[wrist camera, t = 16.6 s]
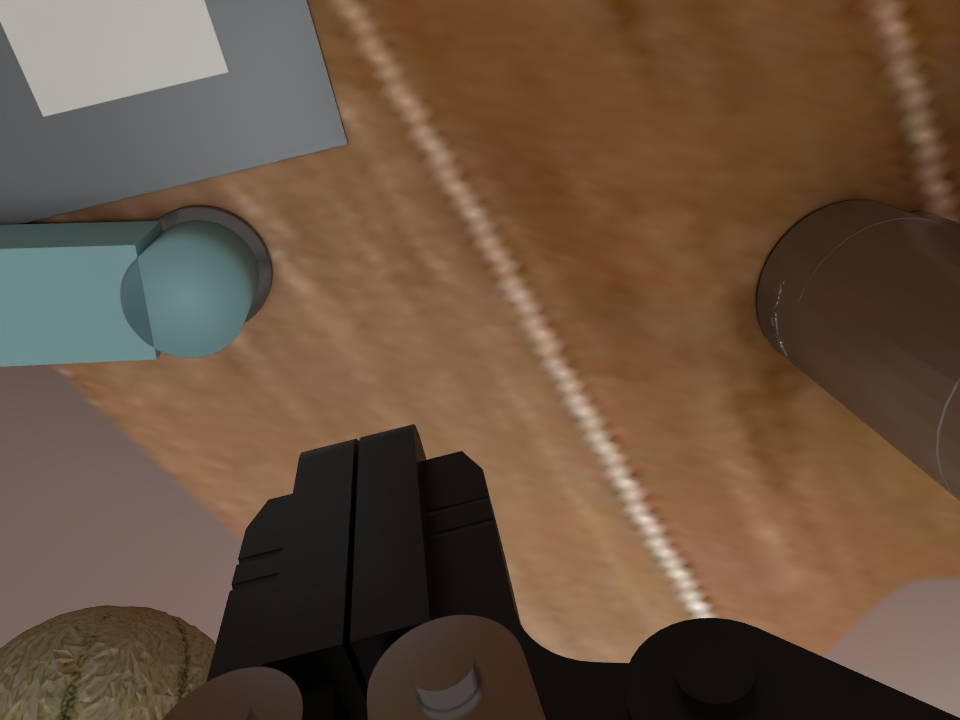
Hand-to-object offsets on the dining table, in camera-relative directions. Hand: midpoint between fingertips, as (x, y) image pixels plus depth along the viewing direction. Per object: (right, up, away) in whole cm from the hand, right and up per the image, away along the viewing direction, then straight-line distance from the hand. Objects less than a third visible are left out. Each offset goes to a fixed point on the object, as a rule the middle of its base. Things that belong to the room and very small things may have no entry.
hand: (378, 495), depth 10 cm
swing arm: (-19, +5, +24) cm, 31 cm away
